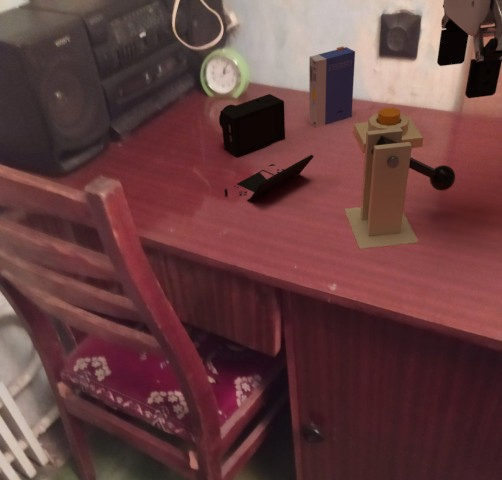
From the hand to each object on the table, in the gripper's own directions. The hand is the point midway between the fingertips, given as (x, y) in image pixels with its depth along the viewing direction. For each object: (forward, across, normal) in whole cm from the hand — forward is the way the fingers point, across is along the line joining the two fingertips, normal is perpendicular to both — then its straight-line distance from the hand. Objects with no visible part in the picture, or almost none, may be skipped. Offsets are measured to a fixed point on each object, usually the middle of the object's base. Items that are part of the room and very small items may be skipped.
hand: (464, 79), depth 68 cm
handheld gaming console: (+20, +14, +23) cm, 33 cm away
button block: (+20, +27, +1) cm, 34 cm away
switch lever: (+12, 0, +5) cm, 13 cm away
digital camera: (+20, +31, +24) cm, 44 cm away
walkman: (+20, +37, +9) cm, 43 cm away
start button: (+17, +27, +1) cm, 32 cm away
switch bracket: (+20, 0, +9) cm, 22 cm away
